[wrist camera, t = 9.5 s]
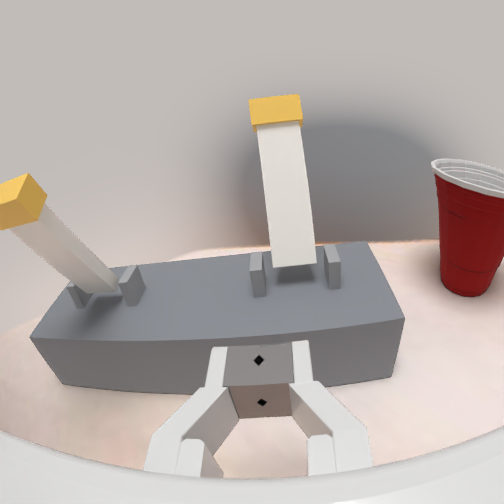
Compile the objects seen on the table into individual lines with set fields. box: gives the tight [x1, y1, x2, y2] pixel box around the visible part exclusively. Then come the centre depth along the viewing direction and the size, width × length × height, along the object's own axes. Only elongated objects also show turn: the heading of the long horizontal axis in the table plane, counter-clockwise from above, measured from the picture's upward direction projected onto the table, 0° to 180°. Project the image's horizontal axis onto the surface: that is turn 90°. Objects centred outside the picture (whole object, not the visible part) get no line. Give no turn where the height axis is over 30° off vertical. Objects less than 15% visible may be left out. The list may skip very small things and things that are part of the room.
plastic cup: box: [431, 159, 504, 297], centre depth 25 cm, size 11×11×12 cm
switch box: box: [30, 241, 405, 394], centre depth 25 cm, size 28×10×8 cm, turn 88°
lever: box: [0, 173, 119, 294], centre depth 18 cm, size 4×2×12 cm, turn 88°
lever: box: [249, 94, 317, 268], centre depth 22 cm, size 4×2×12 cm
